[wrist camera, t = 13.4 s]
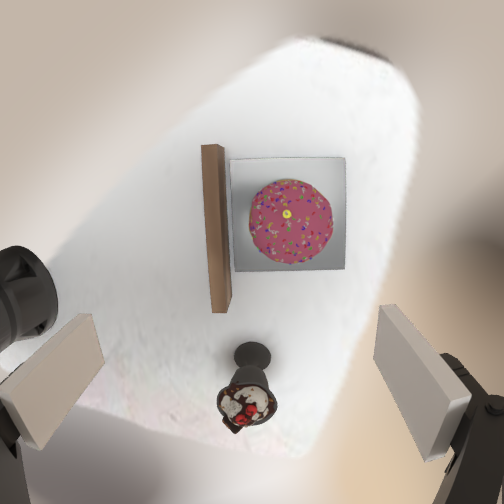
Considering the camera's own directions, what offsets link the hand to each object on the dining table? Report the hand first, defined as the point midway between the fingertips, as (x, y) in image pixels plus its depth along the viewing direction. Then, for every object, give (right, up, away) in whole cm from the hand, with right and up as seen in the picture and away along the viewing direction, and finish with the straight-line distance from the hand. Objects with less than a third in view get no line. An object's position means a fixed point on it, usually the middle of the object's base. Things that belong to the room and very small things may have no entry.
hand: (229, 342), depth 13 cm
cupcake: (+5, +8, +23) cm, 25 cm away
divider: (-3, +7, +24) cm, 25 cm away
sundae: (+1, -10, +29) cm, 30 cm away
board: (+5, +8, +24) cm, 25 cm away
